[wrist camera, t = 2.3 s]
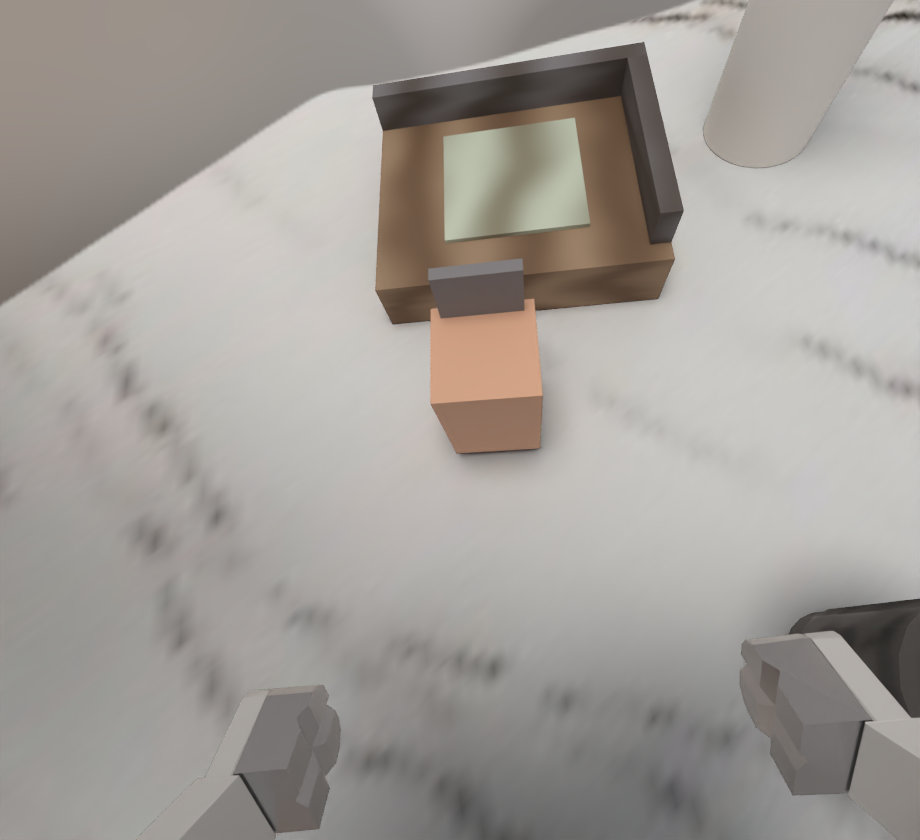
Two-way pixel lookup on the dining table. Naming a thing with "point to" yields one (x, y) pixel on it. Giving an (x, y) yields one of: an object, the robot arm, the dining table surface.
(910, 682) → the beverage cup
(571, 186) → the dock
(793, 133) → the cylindrical container
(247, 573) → the dining table surface
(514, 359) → the tan block
